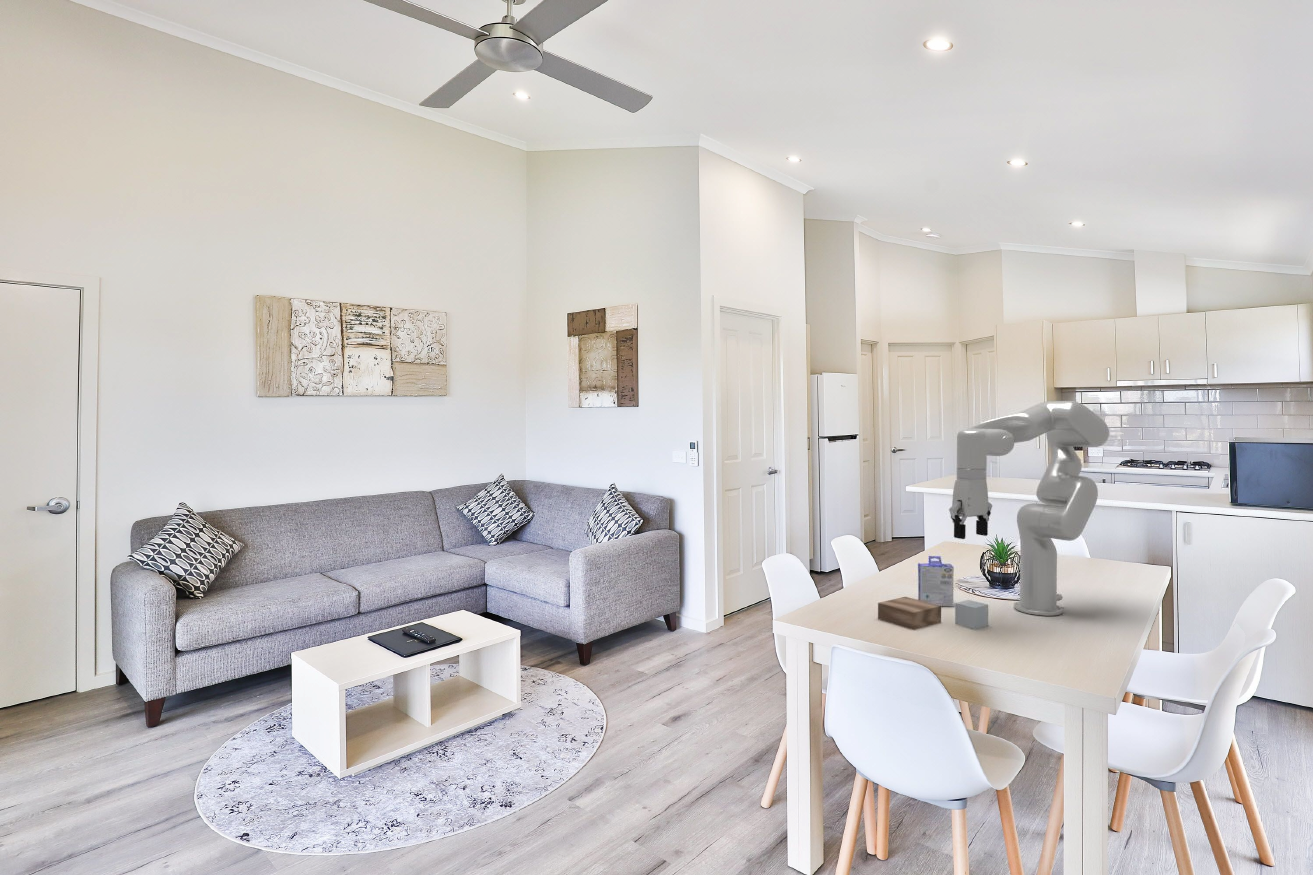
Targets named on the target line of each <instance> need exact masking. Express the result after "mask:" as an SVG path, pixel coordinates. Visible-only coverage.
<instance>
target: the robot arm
mask: <svg viewBox="0 0 1313 875" xmlns="http://www.w3.org/2000/svg"><path fill="white" fill-rule="evenodd" d="M1105 421H1106V420H1104V419H1103V418H1101V417H1100V416H1099V415H1098V414H1096V413H1095V412H1094V411H1093V410H1092V409H1090V408H1089V407H1087V406H1086V405H1084V404H1083V403H1081V402H1078V401H1075V400H1053V401H1052V400H1049V401H1042V402H1040V403H1038V404H1035V405H1033V406H1030V407H1028V408H1026V409H1024V410H1022V411H1019V412H1017V413H1014V414H1009V415H1006V416H1001V417H998V418H994V419H990V420H987V421H983V422H979V423H977V424H975V425H972V426H971V427H969V428H967V429H964V430H963V429H962V430H959V431H958V432H957V435H956V479H955V482H954V485H953V490H952V501H951V503H952V504H951V507H949V509H948V511H949V515H950V518H951V520H952V524H953V538H955V539H959V540H965V539H966V537H967V536H966V535H967V534H966V529H967V528H966V524H965V522H966V520H967V519H968V518H973V517H976V519H977V520H975V522H976V524H975V533H976V535H977V536H983V537H987V536H988V534H989V533H988V532H989V531H988V530H989V529H988V528H989V526H988V524H989V521H990V516H991V514H992V512H991V511H992V510H993V504H992V503H991V502H989V490H988V482H987V472H988V471H987V466H988V463H987V462H988V461H987V460H988V457H1003V456H1007V455H1008V454H1009V453H1011V452H1012V450H1013V449H1014V447H1015V444H1016V443H1017V444H1018V443H1024V442H1029V441H1032V440H1034V439H1036V438H1038V437H1040V436H1042V435H1044V434H1045V435H1046V439H1047V443H1048V446H1049V452H1050V461H1049V463H1048V465H1047V468H1046V469H1045V471H1044V474H1043V475H1042V477H1041V480H1040V481H1039V484H1038V486H1037V489H1036V492H1035V493H1036V499H1038V501H1039V502H1041V503H1038V502H1036V503H1035V502H1031V503H1026V504H1024V505H1023V506H1021V507H1020V508H1019V509H1018V512H1017V515H1016V524H1017V528H1018V533H1019V541H1020V542H1019V543H1020V544H1019V545H1020V547H1019V548H1020V558H1019V559H1020V561H1019V562H1020V563H1019V564H1020V565H1019V567H1020V568H1019V569H1020V570H1019V571H1020V574H1019V582H1020V583H1019V601H1016V602H1014V604H1013V607H1014V609H1015V610H1016V611H1019V612H1021V613H1024V614H1028V615H1036V616H1044V617H1045V616H1047V617H1048V616H1049V617H1051V616H1052V617H1054V616H1059V615H1062V614H1063V610H1064V609H1063V608H1062V607H1061V606H1059V605H1058V604H1057V602H1058V601H1062V600H1063V598H1064V597H1063V594H1060V593H1057V592H1058V591H1057V589H1058V588H1057V586H1058V583H1057V582H1058V551H1057V547H1056V546H1055V543H1054V541H1053V540H1052V539H1055V540H1060V541H1066V542H1067V541H1069V542H1070V541H1075V540H1076V539H1078V538H1079V537H1080V536H1081V535H1082V533H1083V531H1084V529H1085V528H1086V525H1087V523H1088V521H1089V519H1090V517H1091V515H1092V513H1093V511H1094V508H1095V506H1096V504H1097V501H1098V497H1099V494H1098V493H1099V490H1098V485H1097V484H1096V482H1095V481H1094V480H1093V479H1091V478H1089V477H1088V476H1083V475H1080V474H1081V471H1082V468H1083V465H1082V464H1083V463H1082V461H1081V459H1080V457H1079V455H1078V454H1077V452H1076V450H1075V447H1076V448H1078V447H1079V448H1081V447H1082V448H1099V447H1101V446H1103V445H1104V444H1105V443H1107V441H1108V440H1109V436H1110V430H1109V426H1108V424H1107V423H1106V422H1105Z"/></svg>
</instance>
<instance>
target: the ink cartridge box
mask: <svg viewBox="0 0 1313 875" xmlns="http://www.w3.org/2000/svg"><path fill="white" fill-rule="evenodd" d="M932 559H937V560H932ZM954 569H955V568H954V566H953V565H952V564H951V563H942V556H939V555H928V562H927V563H924V562H921V563H919V562H918V563H917V577H918V578H917V581H918V582H917V583H918V586H917V588H918V592H917V593H918V595H917V597H918V599H917V600H920V601H924V602H928V603H932V604H936V605H940V606H941V607H954Z"/></svg>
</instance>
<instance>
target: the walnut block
mask: <svg viewBox="0 0 1313 875" xmlns="http://www.w3.org/2000/svg"><path fill="white" fill-rule="evenodd" d="M877 619H878V620H880V621H883V622H885V623H886V622H887V623H890V624H894V625H896V626H900V627H902V628H903V627H904V628H907V629H911V630H917V629H921V628H924V627H925V628H926V627H929V626H932V625H937V624H940V623H942V606H940V605H936V604H932V603H928V602H924V601H920V600H918V599H916V598H911V597H908V596H903V597H902V596H901V597H899V598H894V599H889V600H885V601H880V602H878V603H877Z"/></svg>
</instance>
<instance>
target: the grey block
mask: <svg viewBox="0 0 1313 875" xmlns="http://www.w3.org/2000/svg"><path fill="white" fill-rule="evenodd" d="M954 606H955V608H954V613H955V614H954V623H955V625H957V626H960V625H961V627H964V628H968V629H971V630H979V629H982V628H986V627H988V626H989V604H988V603H983V602H979V601H974V600H971V599H966V600H963V601H957V602H955V603H954Z"/></svg>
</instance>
